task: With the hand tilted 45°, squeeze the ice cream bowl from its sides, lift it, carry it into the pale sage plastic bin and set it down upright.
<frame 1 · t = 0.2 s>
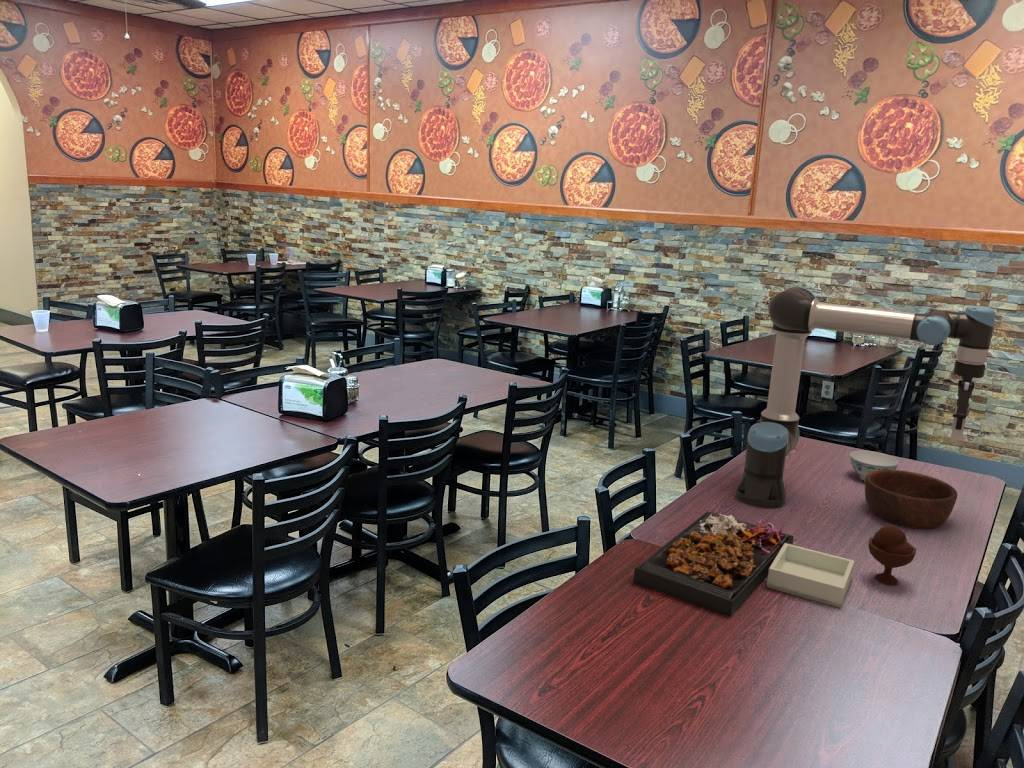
hand: (956, 434, 229), 28 cm above the table, tool pointing down, fingers open, 13 cm apart
food platter: (716, 567, 205), on the table
bin: (809, 582, 197), on the table
chinaware: (870, 480, 271), on the table
wooden bowl: (904, 516, 242), on the table
ice cream bowl: (886, 581, 200), on the table
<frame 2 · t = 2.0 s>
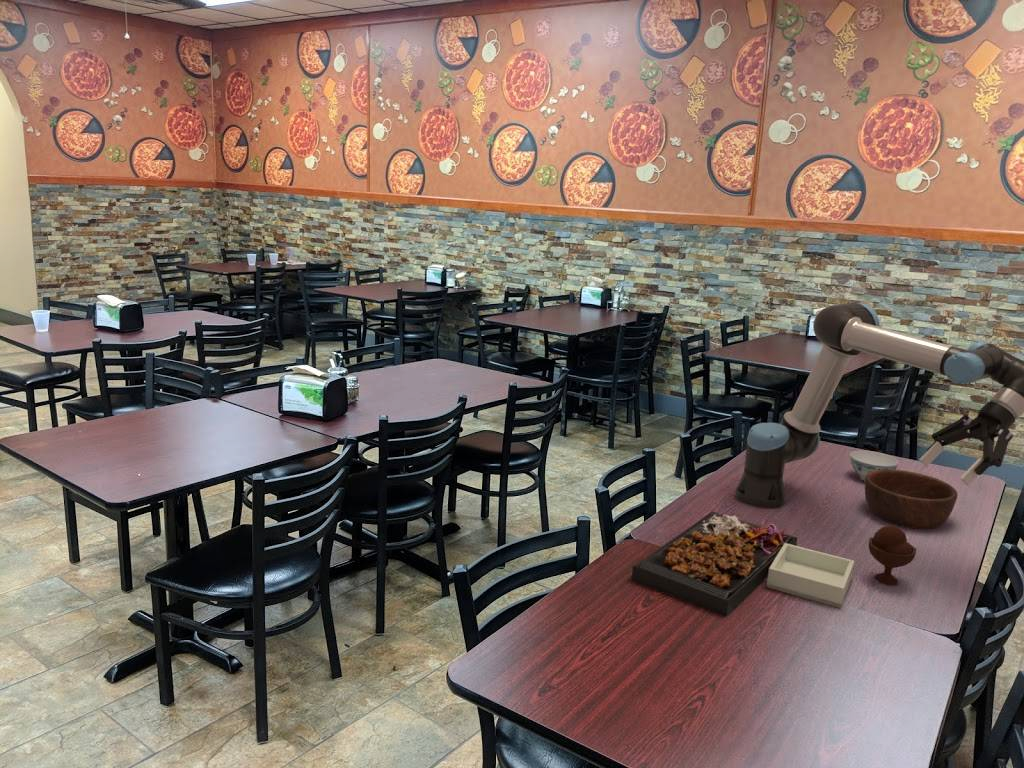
hand: (942, 472, 197), 28 cm above the table, tool tilted 45°, fingers open, 13 cm apart
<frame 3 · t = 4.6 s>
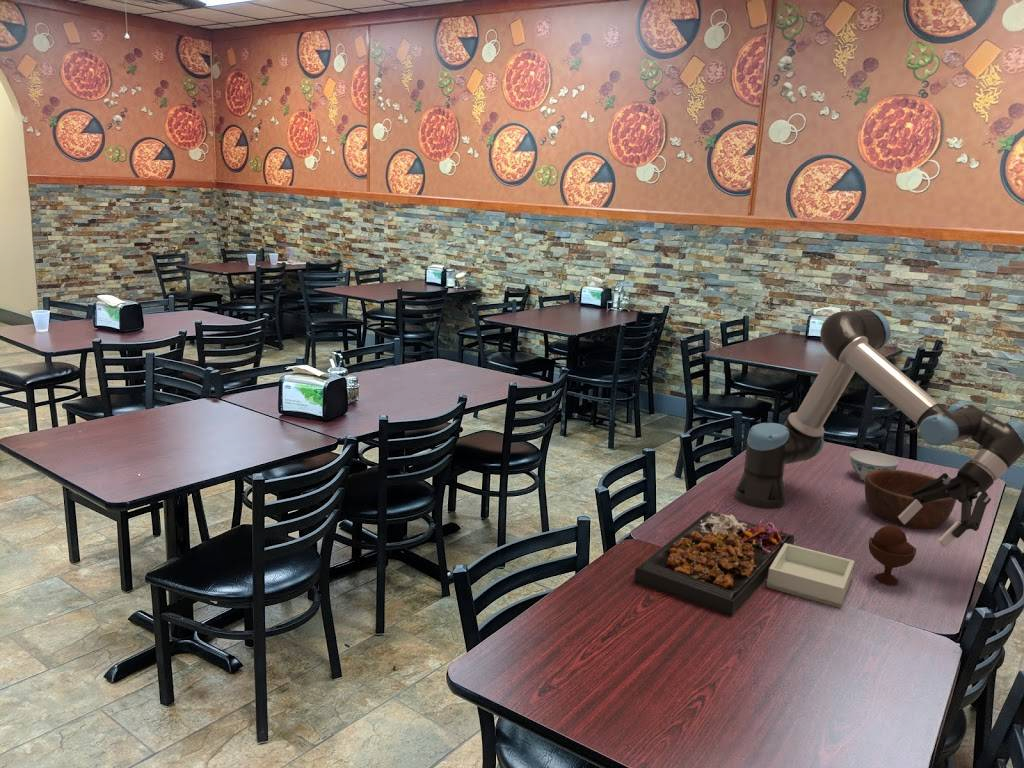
hand: (920, 532, 198), 13 cm above the table, tool tilted 45°, fingers open, 13 cm apart
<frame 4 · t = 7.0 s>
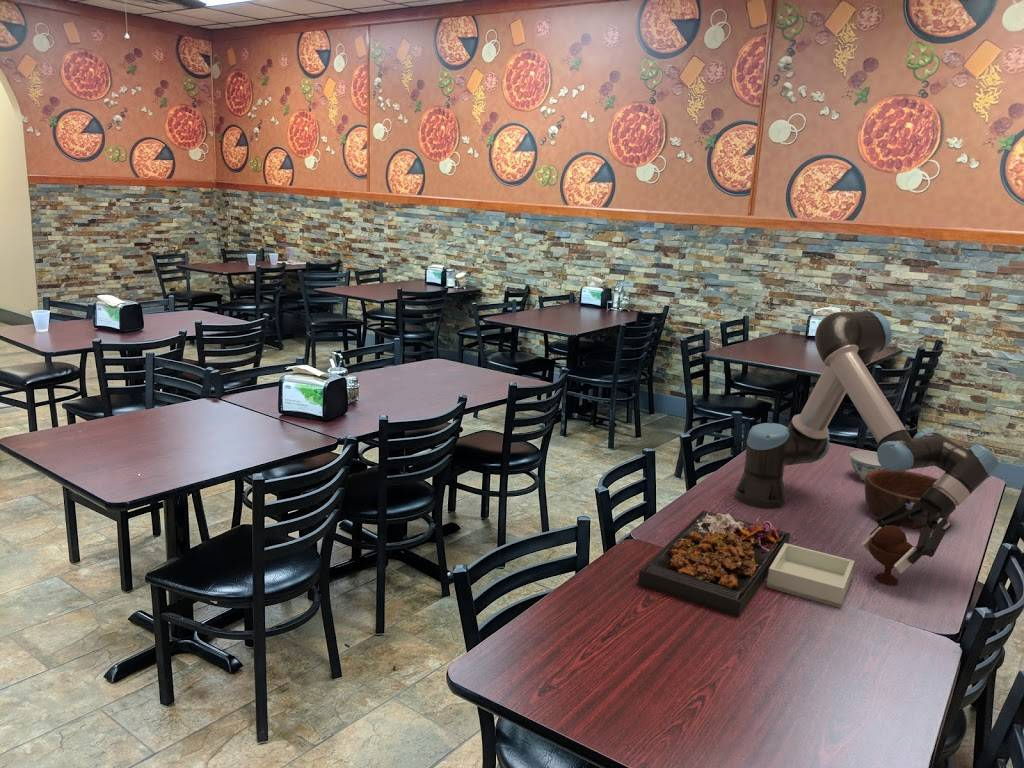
hand: (880, 558, 198), 6 cm above the table, tool tilted 45°, fingers closed on ice cream bowl, 11 cm apart
ice cream bowl: (886, 580, 200), on the table, touching gripper
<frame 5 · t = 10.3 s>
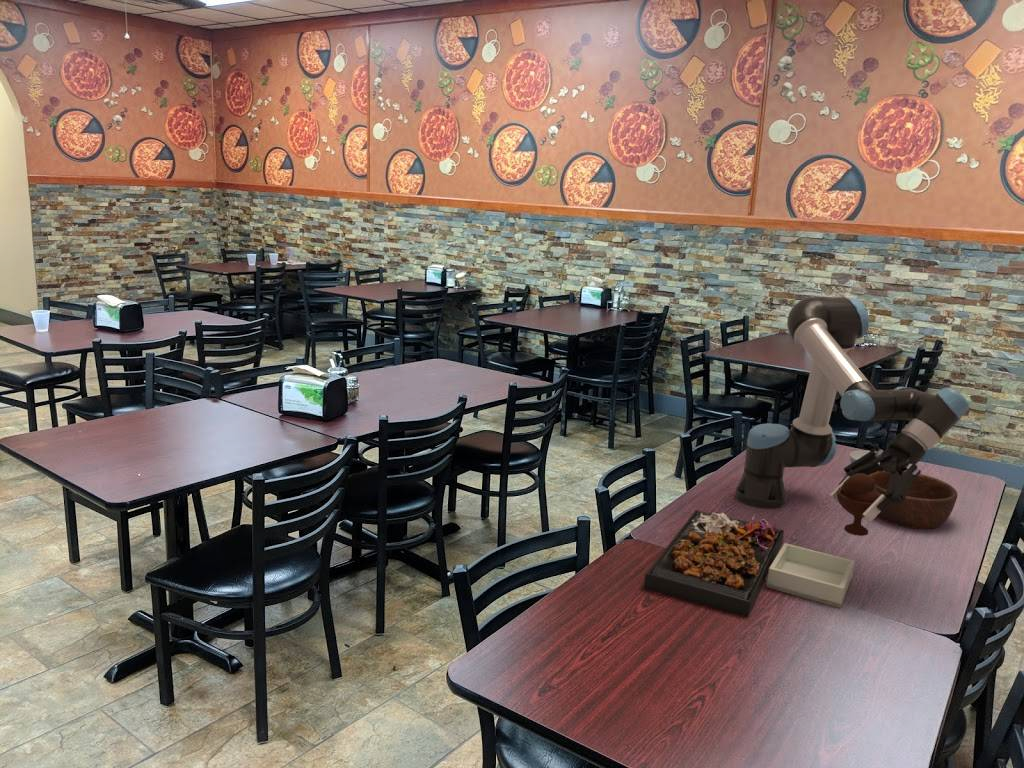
hand: (849, 508, 191), 21 cm above the table, tool tilted 45°, fingers closed on ice cream bowl, 11 cm apart
ice cream bowl: (855, 531, 194), point 14 cm above the table, touching gripper
when the fingers open (9 cm above the table, at t = 13.8 s): ice cream bowl drops 2 cm, resting on bin.
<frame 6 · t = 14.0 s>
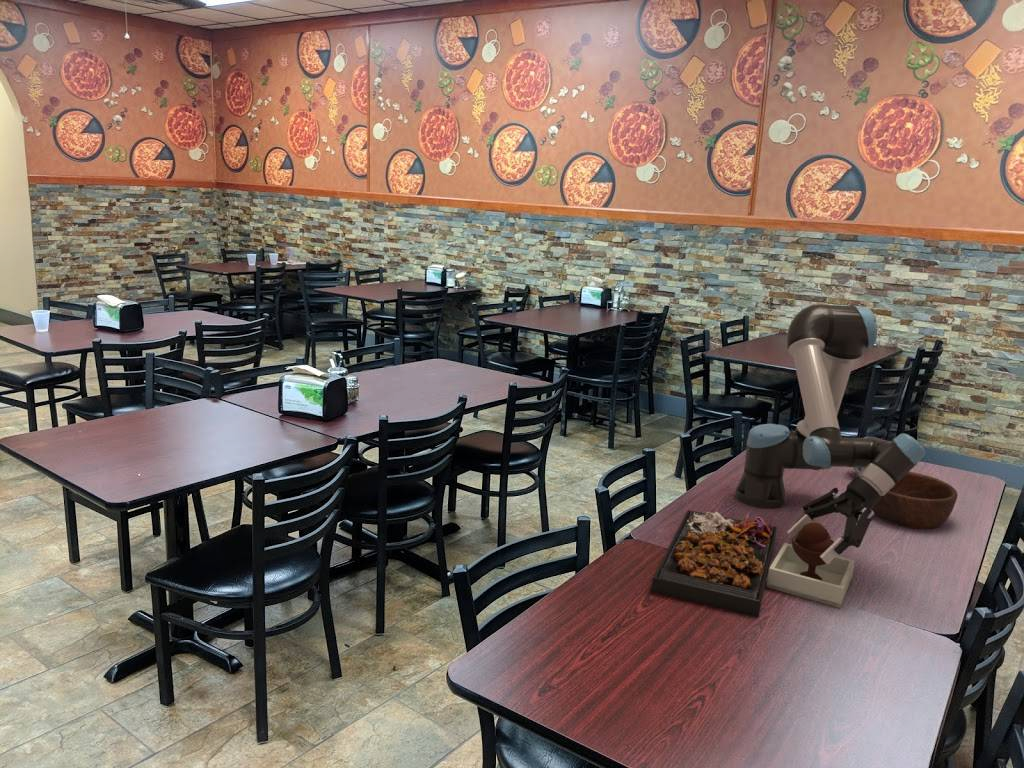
hand: (806, 547, 194), 10 cm above the table, tool tilted 45°, fingers open, 13 cm apart
ice cream bowl: (810, 579, 197), point 1 cm above the table, touching bin
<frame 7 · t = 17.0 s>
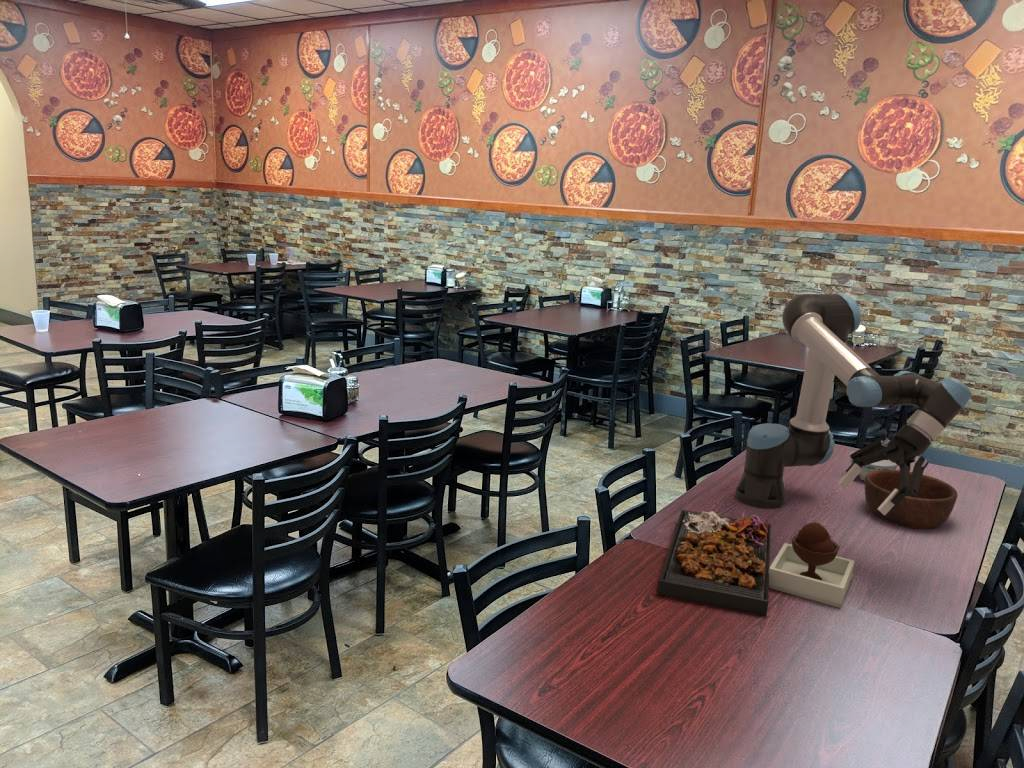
hand: (860, 498, 197), 21 cm above the table, tool tilted 40°, fingers open, 13 cm apart
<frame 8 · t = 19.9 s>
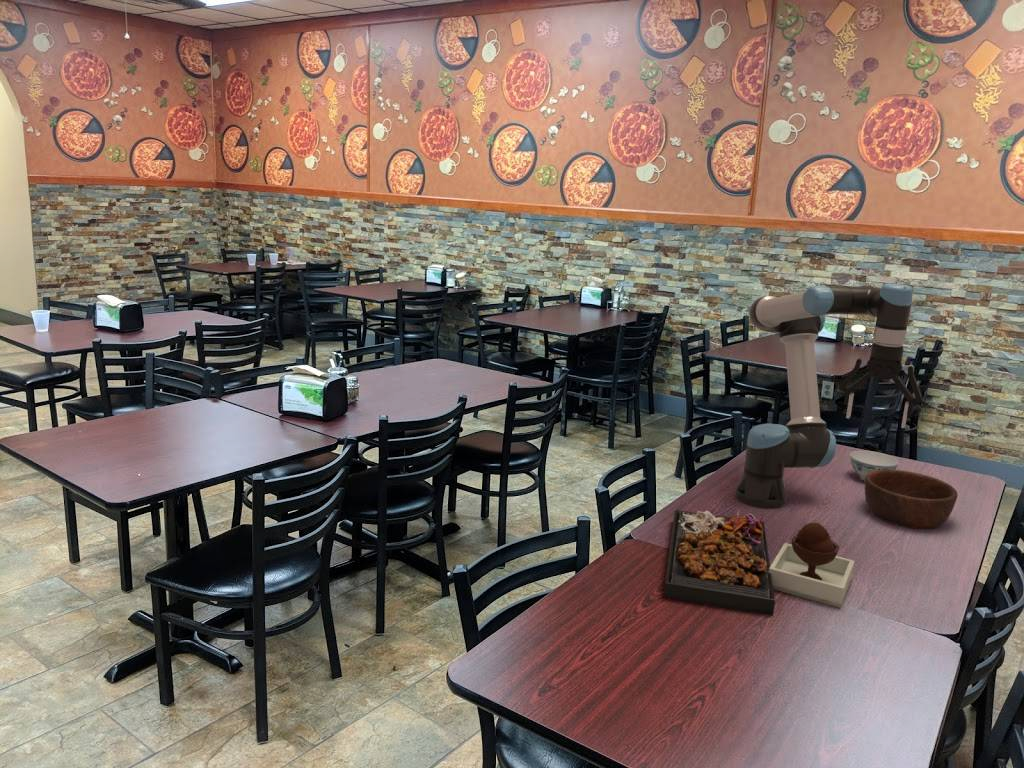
hand: (875, 421, 213), 35 cm above the table, tool pointing down, fingers open, 13 cm apart
at the end: ice cream bowl inside the target area on the bin (0.3 cm from its centre), point 0.8 cm above the bin's base; ice cream bowl tilted 0°; the gripper is holding nothing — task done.
